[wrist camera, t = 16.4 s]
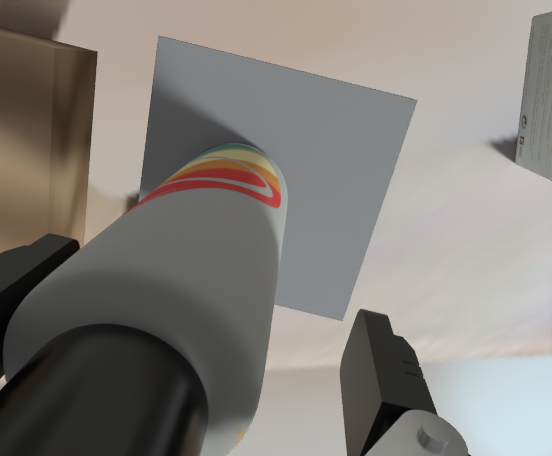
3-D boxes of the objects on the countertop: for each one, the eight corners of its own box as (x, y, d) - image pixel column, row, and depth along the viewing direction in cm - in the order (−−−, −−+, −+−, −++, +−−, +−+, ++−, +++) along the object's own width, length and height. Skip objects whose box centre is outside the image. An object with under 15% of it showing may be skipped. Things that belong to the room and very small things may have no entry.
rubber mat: (166, 37, 22) (158, 35, 21) (412, 98, 22) (417, 100, 21) (138, 260, 26) (130, 269, 25) (341, 310, 27) (342, 321, 25)
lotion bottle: (208, 121, 22) (-353, 427, 3) (307, 170, 22) (309, 673, 4) (169, 215, 24) (-323, 741, 5) (261, 258, 24) (114, 874, 6)
